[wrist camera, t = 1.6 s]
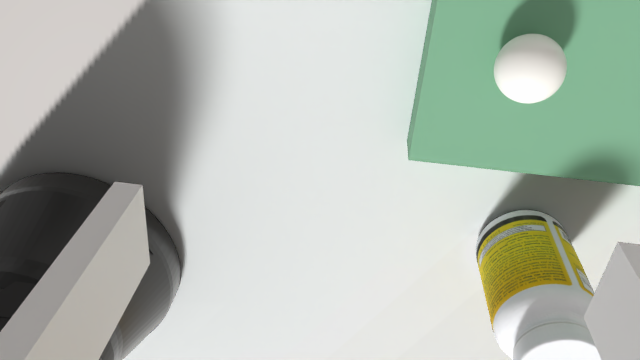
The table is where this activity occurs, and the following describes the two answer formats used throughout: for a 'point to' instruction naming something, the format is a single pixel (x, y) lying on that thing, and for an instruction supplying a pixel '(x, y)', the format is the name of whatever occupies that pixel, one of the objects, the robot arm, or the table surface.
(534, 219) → the pill bottle
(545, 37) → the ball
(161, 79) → the table surface
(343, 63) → the table surface
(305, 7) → the table surface
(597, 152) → the green
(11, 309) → the robot arm
